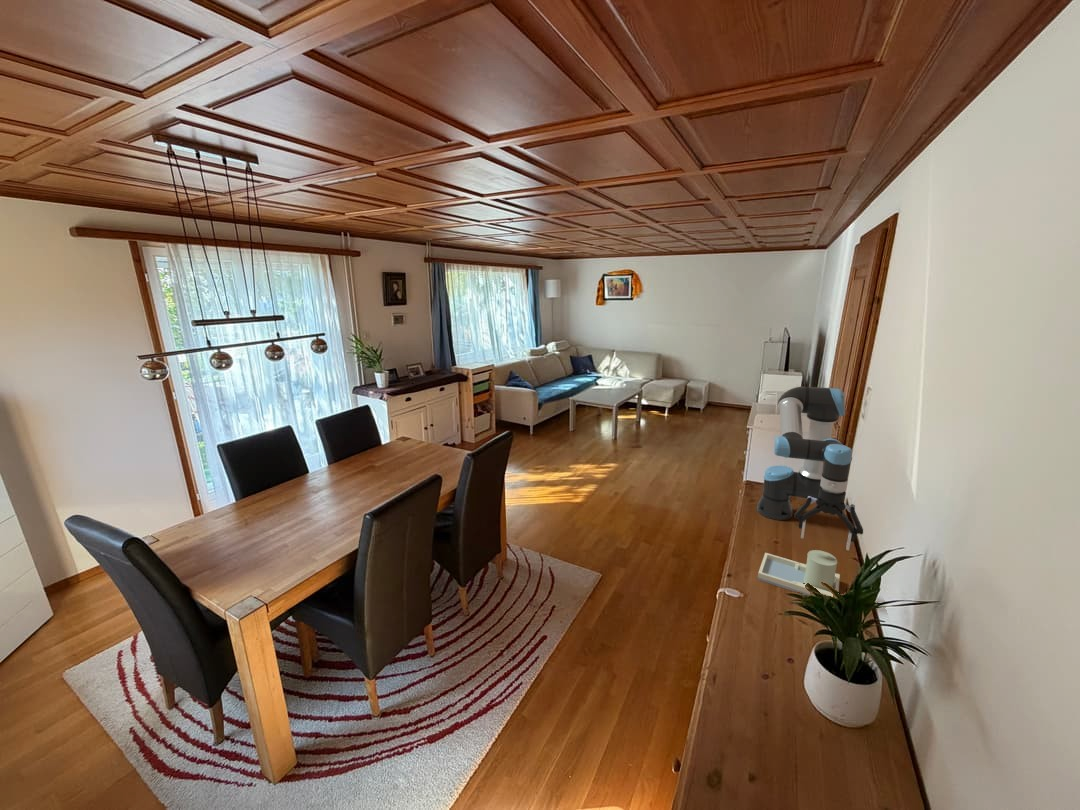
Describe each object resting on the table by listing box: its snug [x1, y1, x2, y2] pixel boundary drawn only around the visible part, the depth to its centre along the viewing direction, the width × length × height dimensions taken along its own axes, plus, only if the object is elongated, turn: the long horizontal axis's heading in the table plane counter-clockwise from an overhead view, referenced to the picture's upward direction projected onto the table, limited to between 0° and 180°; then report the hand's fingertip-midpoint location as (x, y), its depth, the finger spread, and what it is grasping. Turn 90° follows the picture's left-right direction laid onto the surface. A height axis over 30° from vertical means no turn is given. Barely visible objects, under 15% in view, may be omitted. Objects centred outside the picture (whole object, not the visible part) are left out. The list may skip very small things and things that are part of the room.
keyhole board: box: [757, 552, 841, 597], centre depth 159 cm, size 15×25×3 cm, turn 54°
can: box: [804, 549, 838, 592], centre depth 153 cm, size 9×9×12 cm
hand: (824, 542), depth 150 cm, fingers open, 13 cm apart
